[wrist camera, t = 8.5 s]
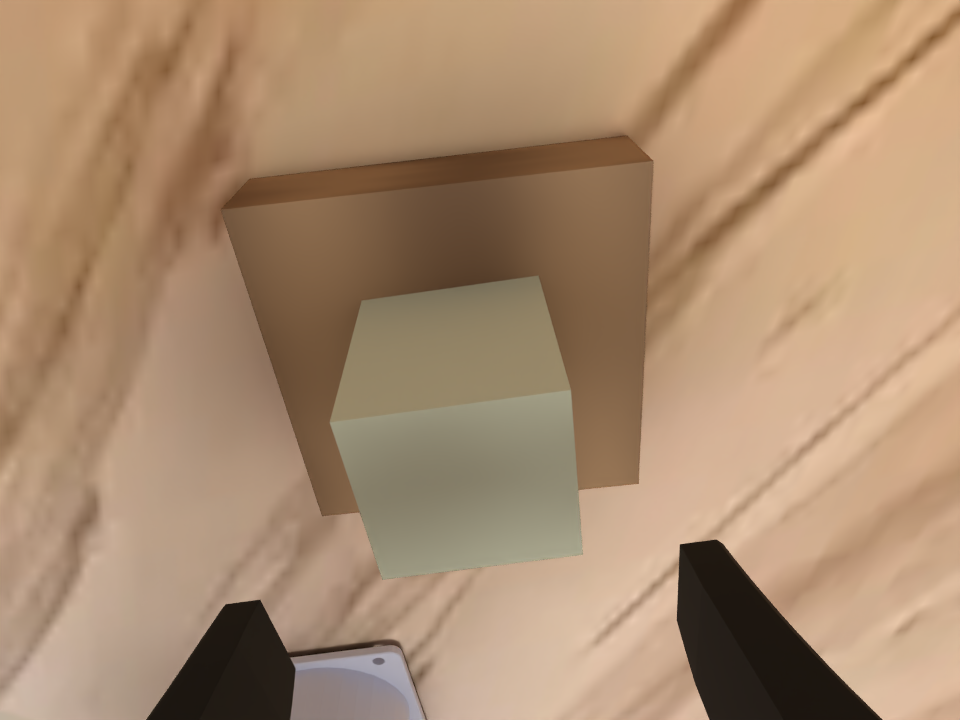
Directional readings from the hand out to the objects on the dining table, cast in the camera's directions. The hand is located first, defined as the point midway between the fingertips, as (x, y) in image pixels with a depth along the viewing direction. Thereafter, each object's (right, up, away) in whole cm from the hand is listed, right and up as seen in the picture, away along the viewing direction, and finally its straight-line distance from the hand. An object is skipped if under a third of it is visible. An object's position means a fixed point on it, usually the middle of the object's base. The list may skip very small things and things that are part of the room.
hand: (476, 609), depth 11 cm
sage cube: (0, +4, +6) cm, 7 cm away
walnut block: (-1, +6, +9) cm, 10 cm away
